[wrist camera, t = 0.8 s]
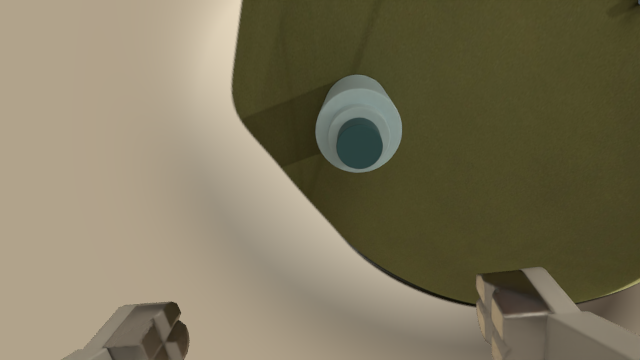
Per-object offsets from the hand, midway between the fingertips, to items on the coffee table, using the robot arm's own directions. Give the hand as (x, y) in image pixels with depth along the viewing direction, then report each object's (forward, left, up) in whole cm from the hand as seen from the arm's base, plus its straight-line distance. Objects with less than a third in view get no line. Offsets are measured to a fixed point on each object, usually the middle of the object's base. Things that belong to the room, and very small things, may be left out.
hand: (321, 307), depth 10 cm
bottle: (-1, +1, -24) cm, 24 cm away
